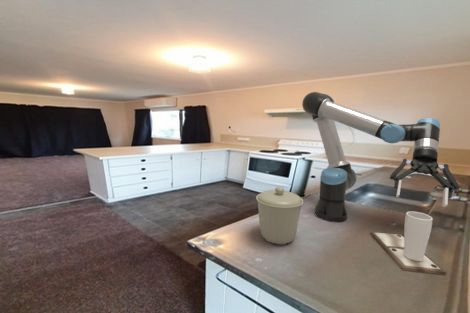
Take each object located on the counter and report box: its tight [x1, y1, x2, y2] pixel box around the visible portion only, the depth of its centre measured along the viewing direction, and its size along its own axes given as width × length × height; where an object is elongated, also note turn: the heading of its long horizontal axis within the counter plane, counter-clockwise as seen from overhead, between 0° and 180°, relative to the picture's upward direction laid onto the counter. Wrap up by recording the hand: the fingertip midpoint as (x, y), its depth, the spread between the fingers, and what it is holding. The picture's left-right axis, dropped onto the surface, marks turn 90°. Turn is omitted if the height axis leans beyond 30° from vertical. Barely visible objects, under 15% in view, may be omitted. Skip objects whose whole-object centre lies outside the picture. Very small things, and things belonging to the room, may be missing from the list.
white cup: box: [403, 211, 433, 261], centre depth 72 cm, size 7×7×15 cm
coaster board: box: [369, 231, 447, 275], centre depth 79 cm, size 12×23×2 cm, turn 171°
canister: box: [255, 186, 304, 245], centre depth 86 cm, size 18×18×21 cm
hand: (420, 200), depth 81 cm, fingers open, 13 cm apart
